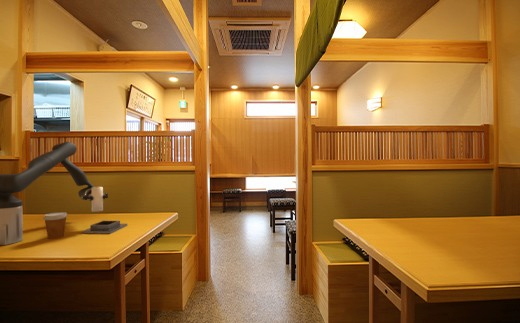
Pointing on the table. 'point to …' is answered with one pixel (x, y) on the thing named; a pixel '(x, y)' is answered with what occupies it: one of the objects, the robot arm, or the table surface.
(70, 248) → the table surface
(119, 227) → the stand
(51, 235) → the disposable coffee cup
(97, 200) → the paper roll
